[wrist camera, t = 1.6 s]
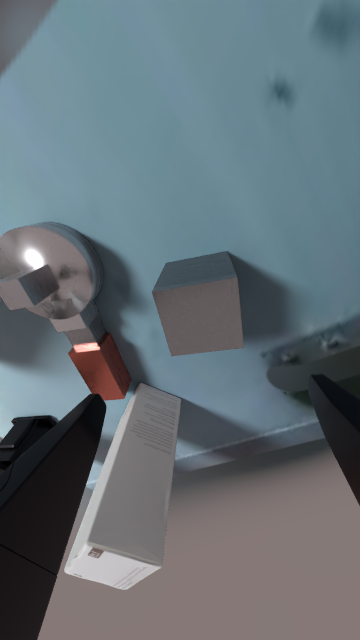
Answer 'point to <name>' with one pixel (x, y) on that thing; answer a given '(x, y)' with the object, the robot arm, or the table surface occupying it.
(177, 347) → the brushed metal block
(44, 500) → the robot arm
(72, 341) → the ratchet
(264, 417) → the table surface
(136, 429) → the skincare box
